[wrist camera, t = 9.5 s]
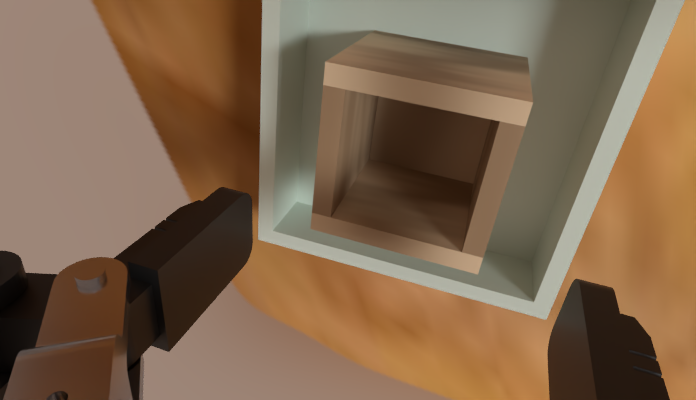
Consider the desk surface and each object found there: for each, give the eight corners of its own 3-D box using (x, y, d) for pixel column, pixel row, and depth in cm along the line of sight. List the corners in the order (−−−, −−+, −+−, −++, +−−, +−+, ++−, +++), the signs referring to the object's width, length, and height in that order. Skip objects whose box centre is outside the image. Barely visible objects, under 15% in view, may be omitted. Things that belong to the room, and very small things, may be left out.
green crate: (662, -32, 16) (696, -27, 13) (542, 270, 23) (546, 319, 20) (303, -79, 19) (263, -83, 16) (288, 204, 25) (258, 239, 22)
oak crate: (527, 57, 18) (533, 102, 13) (486, 194, 21) (477, 274, 16) (374, 30, 19) (325, 61, 14) (356, 163, 22) (310, 228, 17)
